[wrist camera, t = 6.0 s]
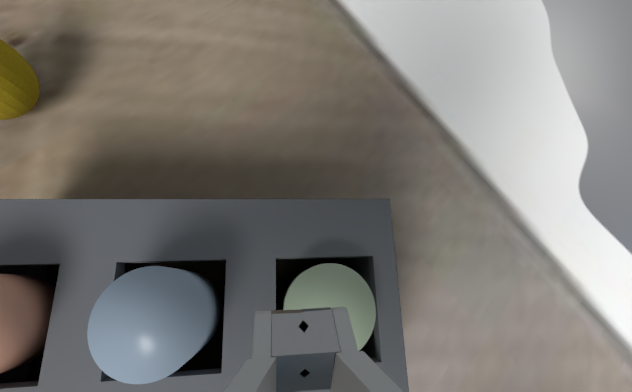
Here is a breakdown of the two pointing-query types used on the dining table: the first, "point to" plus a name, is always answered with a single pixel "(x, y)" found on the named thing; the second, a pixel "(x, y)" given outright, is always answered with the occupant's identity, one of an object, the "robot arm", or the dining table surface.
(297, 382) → the robot arm
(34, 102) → the lemon
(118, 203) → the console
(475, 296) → the dining table surface
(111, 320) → the slate button
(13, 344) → the terracotta button
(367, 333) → the sage button
